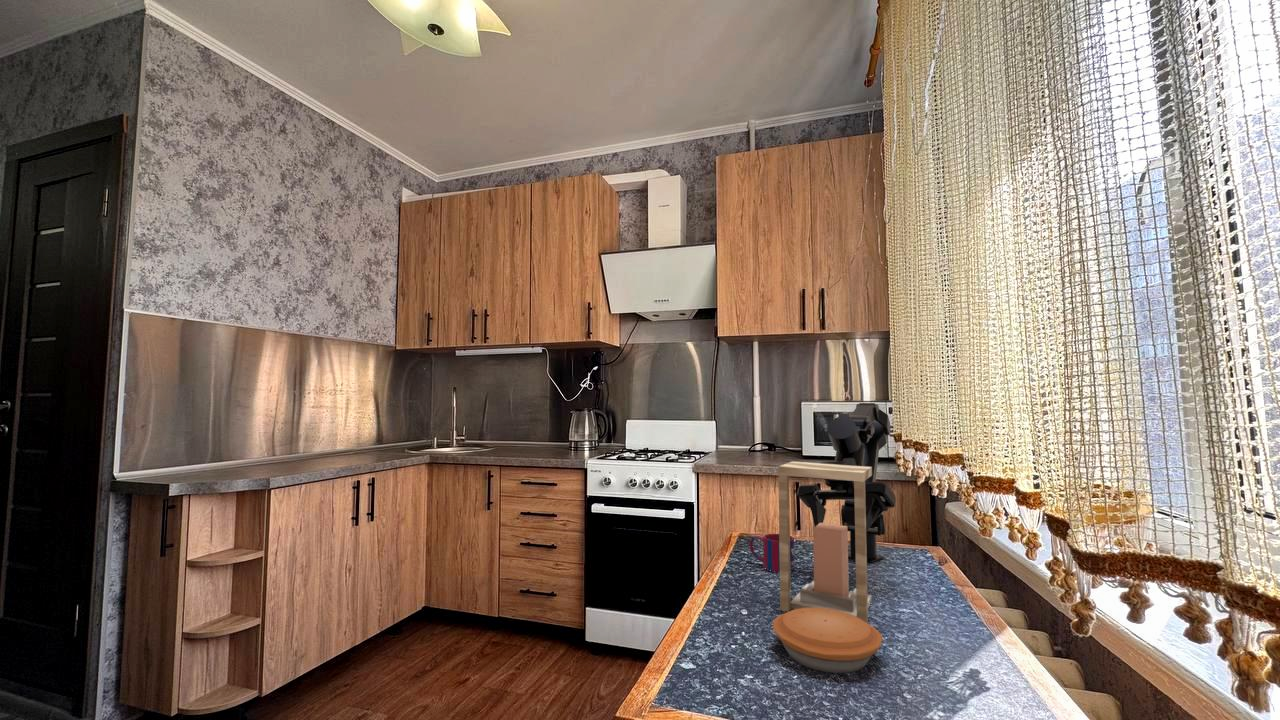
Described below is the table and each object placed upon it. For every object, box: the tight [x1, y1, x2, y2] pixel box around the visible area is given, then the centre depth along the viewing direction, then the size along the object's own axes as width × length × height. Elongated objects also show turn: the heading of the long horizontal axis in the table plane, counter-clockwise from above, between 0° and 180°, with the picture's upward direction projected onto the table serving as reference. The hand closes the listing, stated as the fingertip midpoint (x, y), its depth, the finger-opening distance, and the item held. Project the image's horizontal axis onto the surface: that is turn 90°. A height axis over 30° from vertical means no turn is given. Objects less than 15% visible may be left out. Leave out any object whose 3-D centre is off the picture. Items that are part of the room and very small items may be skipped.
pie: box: [772, 608, 883, 674], centre depth 82 cm, size 15×16×5 cm
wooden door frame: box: [777, 461, 873, 624], centre depth 101 cm, size 14×14×26 cm
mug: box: [749, 533, 796, 573], centre depth 123 cm, size 7×10×7 cm
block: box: [812, 522, 850, 597], centre depth 101 cm, size 5×5×13 cm
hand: (839, 533), depth 109 cm, fingers open, 9 cm apart
